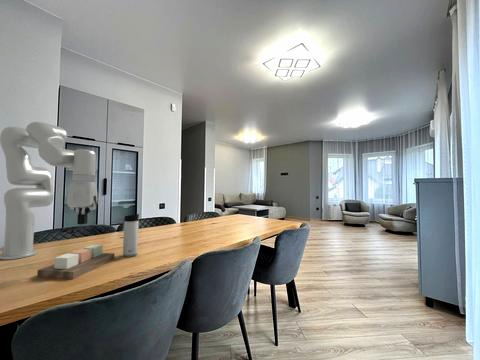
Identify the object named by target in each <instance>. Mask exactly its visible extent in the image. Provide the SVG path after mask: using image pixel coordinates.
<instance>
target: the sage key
mask: <svg viewBox="0 0 480 360" xmlns="http://www.w3.org/2000/svg"><path fill="white" fill-rule="evenodd" d="M82 249H91V258H95V257H97V256H99V255H102V253H103V244H102V245H101V244H91V245H88V246H84V247H83V248H82Z"/></svg>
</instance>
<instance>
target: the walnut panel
mask: <svg viewBox="0 0 480 360" xmlns="http://www.w3.org/2000/svg"><path fill="white" fill-rule="evenodd" d="M113 260H115V252H114V253H113V252H110V253H109V252H102V255H99V256H97V257H95V258H91V259H90V260H87V261H85V262H83V263H78V265H76V266H73V267H71V268H68V269H54V264H55V263H52V264H49V265H47V266H45V267H41V268H39V269H37V273H36V277H37V278H50V279H65V280H66V279H67V280H74V279H77V278H78V277H80V276H83V275H84V274H86V273H88V272H91V271H93V270H95V269H96V268H99V267H100V266H103V265H105V264H107V263H109V262H111V261H113Z"/></svg>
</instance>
